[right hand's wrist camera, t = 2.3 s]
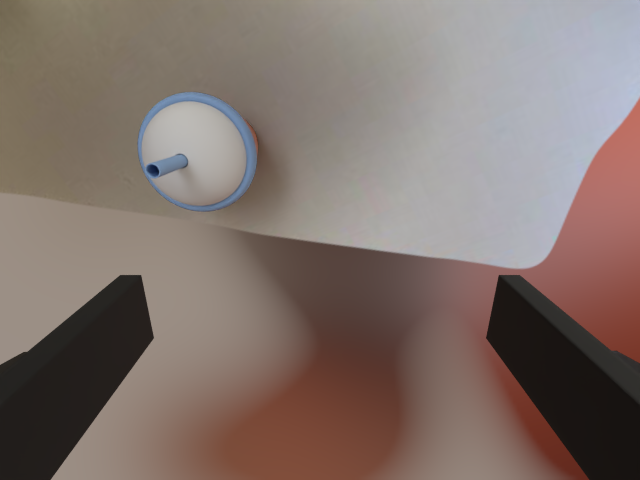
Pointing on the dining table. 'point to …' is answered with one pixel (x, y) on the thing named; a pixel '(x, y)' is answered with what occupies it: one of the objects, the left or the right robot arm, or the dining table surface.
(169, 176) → the cup with straw
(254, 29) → the dining table surface
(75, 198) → the dining table surface
